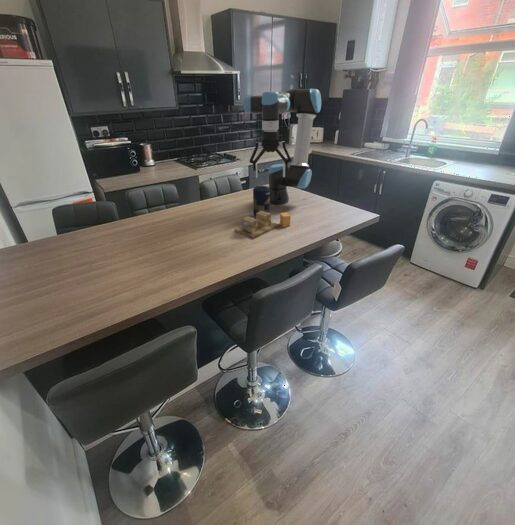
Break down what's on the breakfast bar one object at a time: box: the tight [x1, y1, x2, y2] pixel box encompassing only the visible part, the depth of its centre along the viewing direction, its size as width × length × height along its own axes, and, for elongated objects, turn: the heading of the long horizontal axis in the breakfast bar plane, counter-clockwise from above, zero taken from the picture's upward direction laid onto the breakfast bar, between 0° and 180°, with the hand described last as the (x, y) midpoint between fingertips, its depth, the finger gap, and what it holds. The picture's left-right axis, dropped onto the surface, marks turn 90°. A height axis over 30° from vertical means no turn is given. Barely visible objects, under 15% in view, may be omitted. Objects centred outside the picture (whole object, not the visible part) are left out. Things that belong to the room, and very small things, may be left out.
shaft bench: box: [234, 211, 280, 240], centre depth 154 cm, size 20×14×7 cm
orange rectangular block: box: [279, 212, 291, 228], centre depth 159 cm, size 5×4×6 cm
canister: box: [252, 185, 271, 218], centre depth 167 cm, size 10×10×18 cm
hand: (270, 176), depth 145 cm, fingers open, 13 cm apart
